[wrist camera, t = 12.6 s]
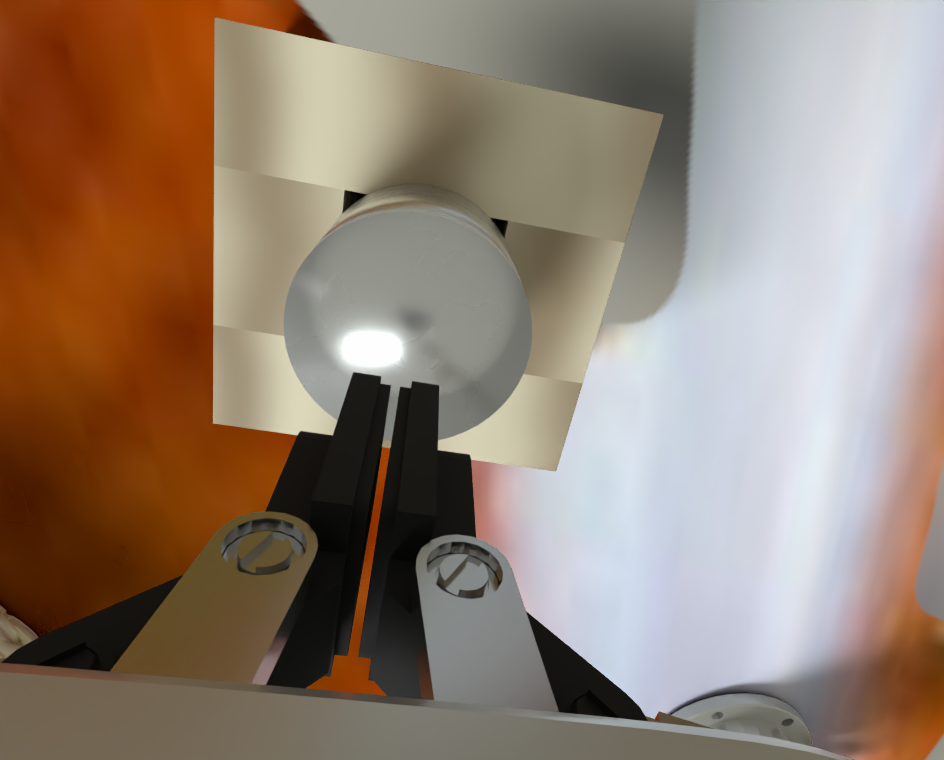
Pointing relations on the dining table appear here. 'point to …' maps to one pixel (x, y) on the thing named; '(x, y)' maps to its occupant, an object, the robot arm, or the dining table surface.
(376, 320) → the silver metal cylinder
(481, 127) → the block
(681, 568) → the dining table surface
